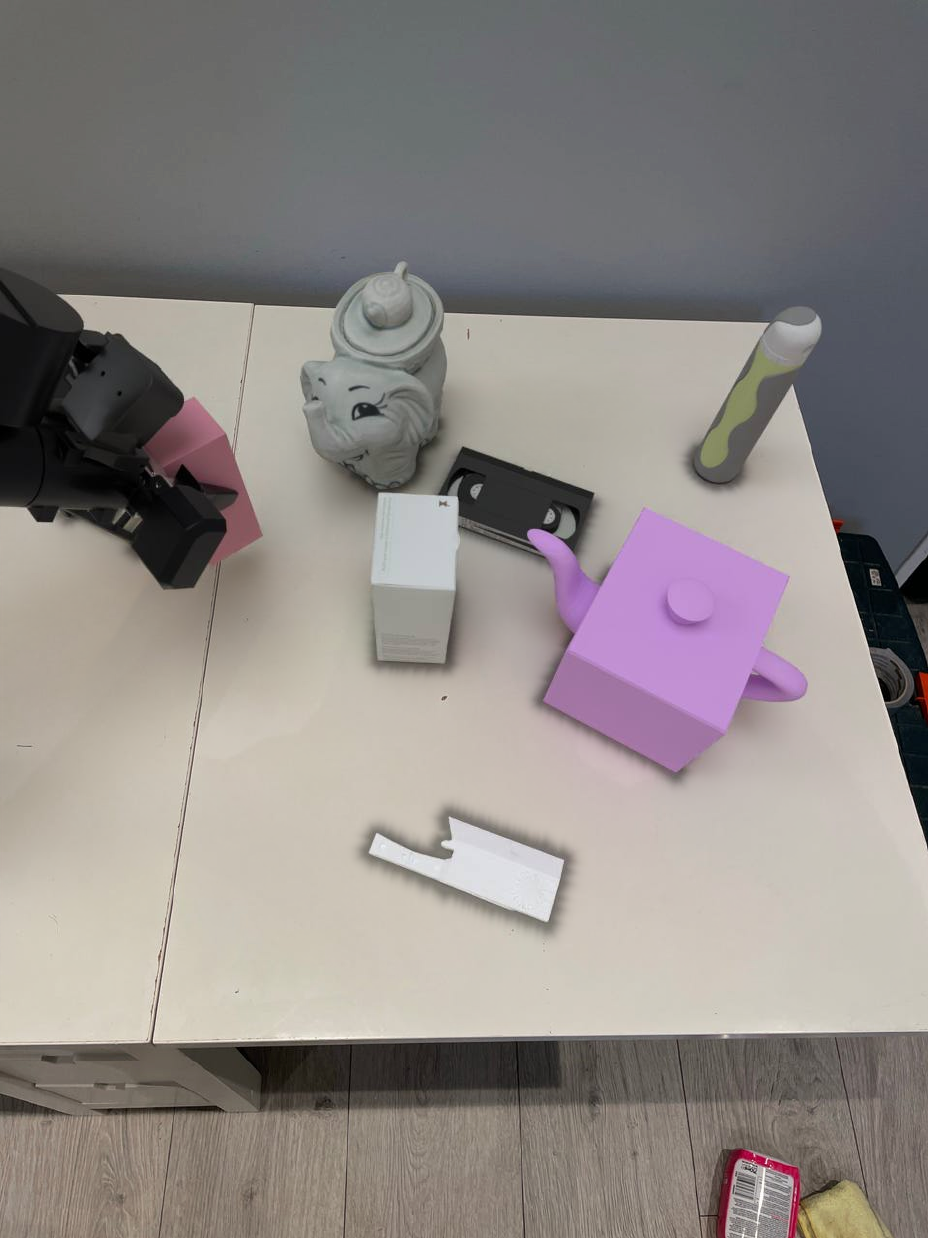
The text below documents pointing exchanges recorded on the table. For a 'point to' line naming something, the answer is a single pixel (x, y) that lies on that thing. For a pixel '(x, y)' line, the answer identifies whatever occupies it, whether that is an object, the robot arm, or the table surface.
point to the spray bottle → (757, 393)
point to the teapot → (666, 639)
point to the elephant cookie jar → (379, 378)
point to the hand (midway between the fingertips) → (218, 478)
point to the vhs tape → (514, 501)
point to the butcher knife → (485, 868)
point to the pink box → (206, 469)
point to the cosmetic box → (414, 575)
